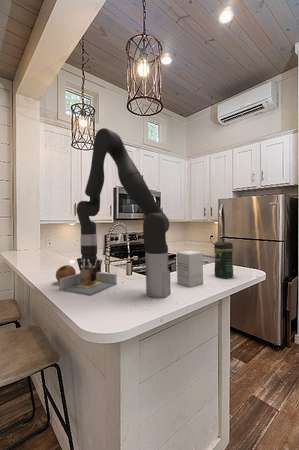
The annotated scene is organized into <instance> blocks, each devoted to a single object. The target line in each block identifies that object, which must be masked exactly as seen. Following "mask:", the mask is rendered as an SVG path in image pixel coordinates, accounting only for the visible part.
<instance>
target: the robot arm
mask: <svg viewBox="0 0 299 450" xmlns="http://www.w3.org/2000/svg"><path fill="white" fill-rule="evenodd" d="M107 153H108V154H109V156H110V157H111V159H112V160H113V161H114V164H115V166H116V167H117V176H118V180H119V182H120V185H121V186H122V188H123V191H125V193H126V194H127V196H128V197H129V199H131V200H132V202H134V204H135V205H136V206H137V207H138V208H139V209H140V210H141V211H142V213H143V215H144V220H143V223H142V224H143V225H142V236H143V237H142V238H143V245H144V248H145V293H146V294H145V295H146V296H147V297H151V298H156V299H157V298H163V299H164V298H166V297H168V296H169V295H171V292H172V291H171V270H169V246H168V244H167V240H166V237H167V235H166V233H167V232H168V231H169V229H170V220H169V218H168V217H167V215H166V214H165V213H164V211H163V210H162V209H161V207H160V206H159V204H158V203H157V202H156V200H155V198H154V196H153V194H152V192H151V191H150V189H149V186H148V185H147V183H146V181H145V179H144V177H143V175H142V174H141V173H140V170H139V169H138V168H137V166H136V164H135V163H134V161H133V160H132V159H131V156H130V154H129V153H128V151H127V149H126V146H125V144H124V142H123V140H122V138H121V136H120V134H118V133H116V132H115V131H113V130H111V129H108V128H107V127H105V128H102V127H101V128H100V129H98V131H97V132H96V133H95V135H94V140H93V147H92V156H91V165H90V170H89V175H88V180H87V183H86V186H85V190H84V194H85V195H86V196H87V197H89V201H88V200H80V201H79V202H78V203H77V205H76V209H75V210H76V215H77V218H78V222H79V225H80V238H79V239H80V255H81V257H80V258H76V262H77V265H78V269H79V271H80V270H82V269H86V268H88V267H89V268H90V269H91V273H92V274H91V281H95V280H96V272H99V271H100V268H101V269H102V263H103V259H99V258H98V256H97V254H98V236H97V223H96V222H95V221H92V220H91V218H90V217H95V216H97V215H98V214H99V212H100V211H101V210H100V208H101V195H102V190H103V187H104V183H105V168H104V167H105V159H106V155H107ZM93 265H94V266H93ZM93 268H94V270H93Z"/></svg>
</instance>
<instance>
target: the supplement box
mask: <svg viewBox="0 0 299 450" xmlns="http://www.w3.org/2000/svg"><path fill="white" fill-rule="evenodd" d="M203 258H204V256H203V252H201V251H194V250H186V251H176V278H177V279H176V281H177V284H180V285H182V286H185V287H188V288H191V287H195V286H199V285H203V284H204V260H203Z"/></svg>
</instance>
